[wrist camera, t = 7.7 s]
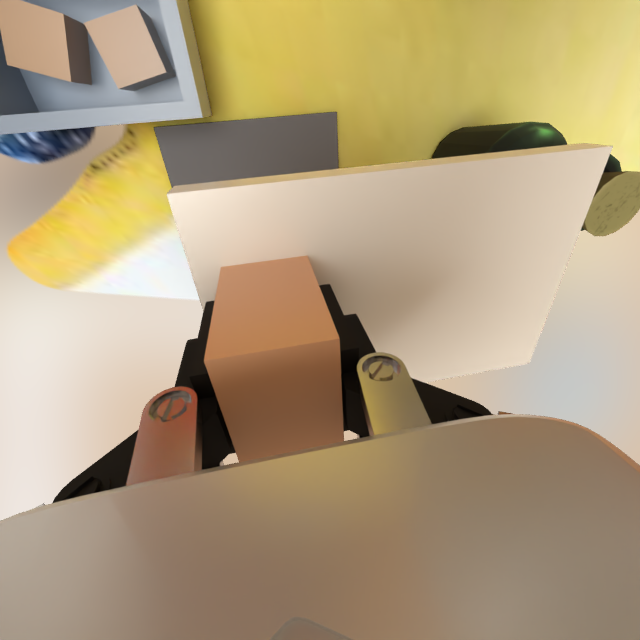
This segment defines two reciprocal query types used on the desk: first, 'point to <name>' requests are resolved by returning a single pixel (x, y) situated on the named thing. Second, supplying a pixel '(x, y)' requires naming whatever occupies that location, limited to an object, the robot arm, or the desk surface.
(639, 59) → the desk surface
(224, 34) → the desk surface
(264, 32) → the desk surface
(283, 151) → the rubber mat
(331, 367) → the snap lid
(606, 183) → the potion bottle
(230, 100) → the desk surface
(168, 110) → the parts tub
